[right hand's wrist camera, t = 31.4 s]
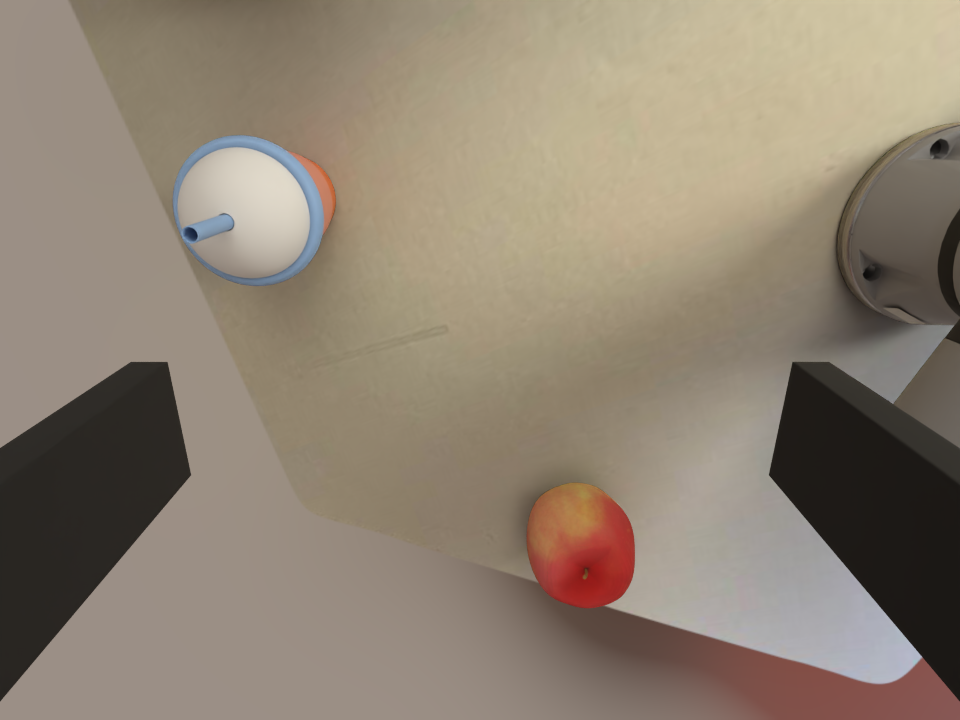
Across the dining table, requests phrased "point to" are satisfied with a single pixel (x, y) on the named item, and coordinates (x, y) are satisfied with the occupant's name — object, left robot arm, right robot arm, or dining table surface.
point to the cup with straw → (252, 209)
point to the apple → (580, 545)
